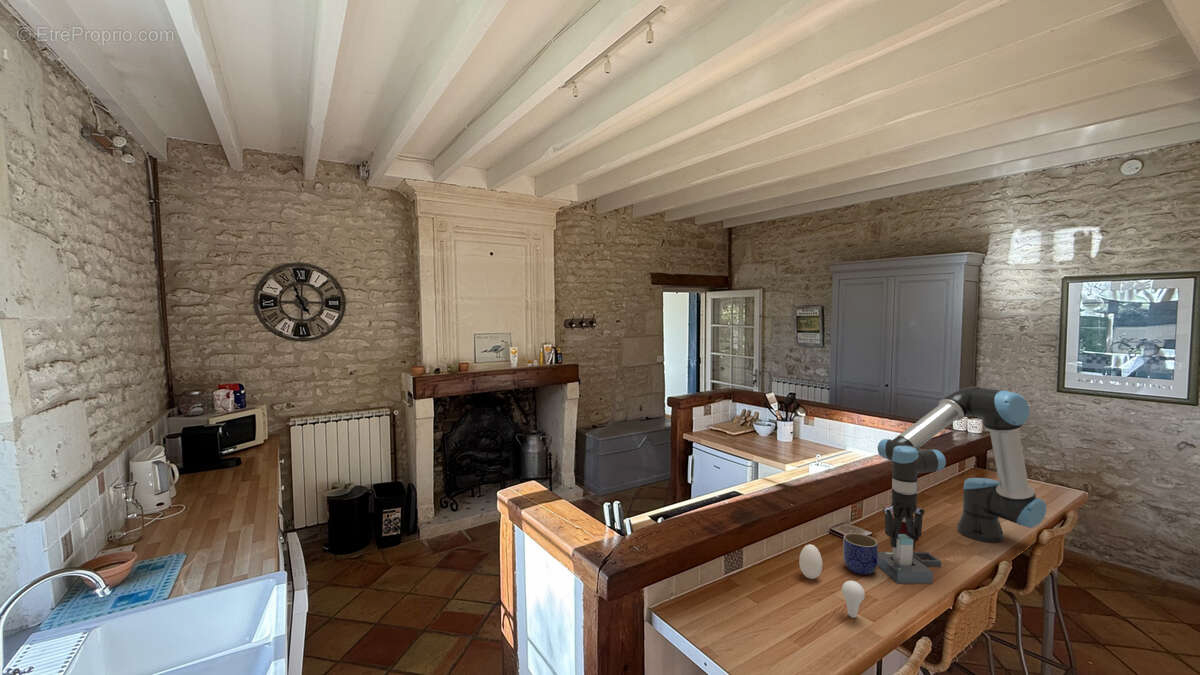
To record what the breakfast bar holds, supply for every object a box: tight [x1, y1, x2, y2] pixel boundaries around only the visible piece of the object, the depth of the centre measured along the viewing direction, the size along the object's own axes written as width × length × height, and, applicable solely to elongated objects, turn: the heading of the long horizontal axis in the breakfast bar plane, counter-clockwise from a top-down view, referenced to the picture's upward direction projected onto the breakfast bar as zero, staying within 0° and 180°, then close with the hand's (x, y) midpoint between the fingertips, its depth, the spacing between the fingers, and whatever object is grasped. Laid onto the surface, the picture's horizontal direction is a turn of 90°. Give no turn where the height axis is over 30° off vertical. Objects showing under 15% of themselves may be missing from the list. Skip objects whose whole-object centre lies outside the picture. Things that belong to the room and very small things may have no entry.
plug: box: [893, 534, 912, 566], centre depth 172 cm, size 4×4×11 cm
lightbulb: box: [841, 580, 866, 619], centre depth 147 cm, size 6×6×11 cm
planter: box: [842, 532, 879, 576], centre depth 174 cm, size 11×11×11 cm
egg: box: [798, 543, 823, 580], centre depth 169 cm, size 7×7×12 cm
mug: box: [892, 514, 920, 543], centre depth 193 cm, size 10×8×10 cm
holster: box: [913, 551, 942, 568], centre depth 179 cm, size 7×7×2 cm
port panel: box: [876, 551, 934, 585], centre depth 172 cm, size 12×14×4 cm
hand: (902, 555), depth 172 cm, fingers closed on plug, 4 cm apart
